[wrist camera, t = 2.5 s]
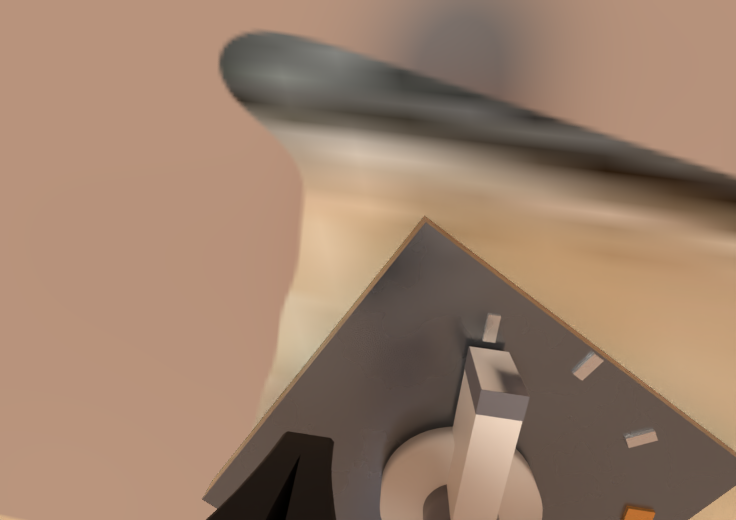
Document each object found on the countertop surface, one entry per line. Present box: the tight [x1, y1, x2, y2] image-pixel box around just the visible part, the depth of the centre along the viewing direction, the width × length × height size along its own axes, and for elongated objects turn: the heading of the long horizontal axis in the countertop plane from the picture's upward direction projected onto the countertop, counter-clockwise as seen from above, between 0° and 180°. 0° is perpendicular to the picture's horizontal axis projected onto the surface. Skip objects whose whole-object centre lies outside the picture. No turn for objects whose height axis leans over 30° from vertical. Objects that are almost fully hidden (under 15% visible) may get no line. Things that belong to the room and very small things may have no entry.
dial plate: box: [203, 216, 736, 520], centre depth 20 cm, size 18×18×1 cm
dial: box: [380, 346, 543, 520], centre depth 18 cm, size 11×7×3 cm, turn 174°
